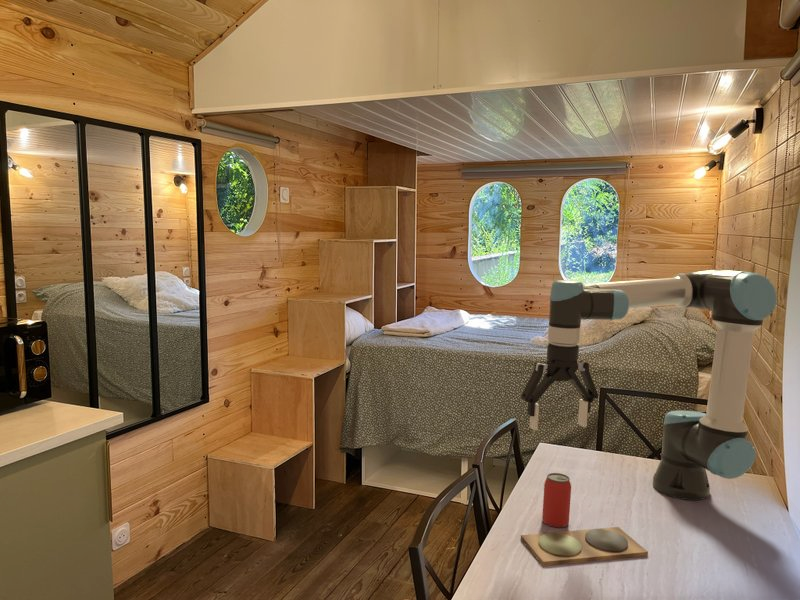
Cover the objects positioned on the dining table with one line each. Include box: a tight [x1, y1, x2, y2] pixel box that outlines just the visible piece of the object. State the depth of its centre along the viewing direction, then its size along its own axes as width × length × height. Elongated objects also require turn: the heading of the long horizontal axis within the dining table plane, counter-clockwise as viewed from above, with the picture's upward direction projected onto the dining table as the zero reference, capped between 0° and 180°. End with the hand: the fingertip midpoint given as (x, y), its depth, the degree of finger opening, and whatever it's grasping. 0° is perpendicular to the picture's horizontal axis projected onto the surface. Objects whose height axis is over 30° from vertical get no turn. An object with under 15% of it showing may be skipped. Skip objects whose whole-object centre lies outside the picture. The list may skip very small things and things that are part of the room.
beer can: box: [541, 472, 572, 528], centre depth 155 cm, size 7×7×12 cm
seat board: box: [520, 526, 649, 567], centre depth 143 cm, size 26×12×2 cm, turn 103°
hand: (558, 427), depth 153 cm, fingers open, 13 cm apart
